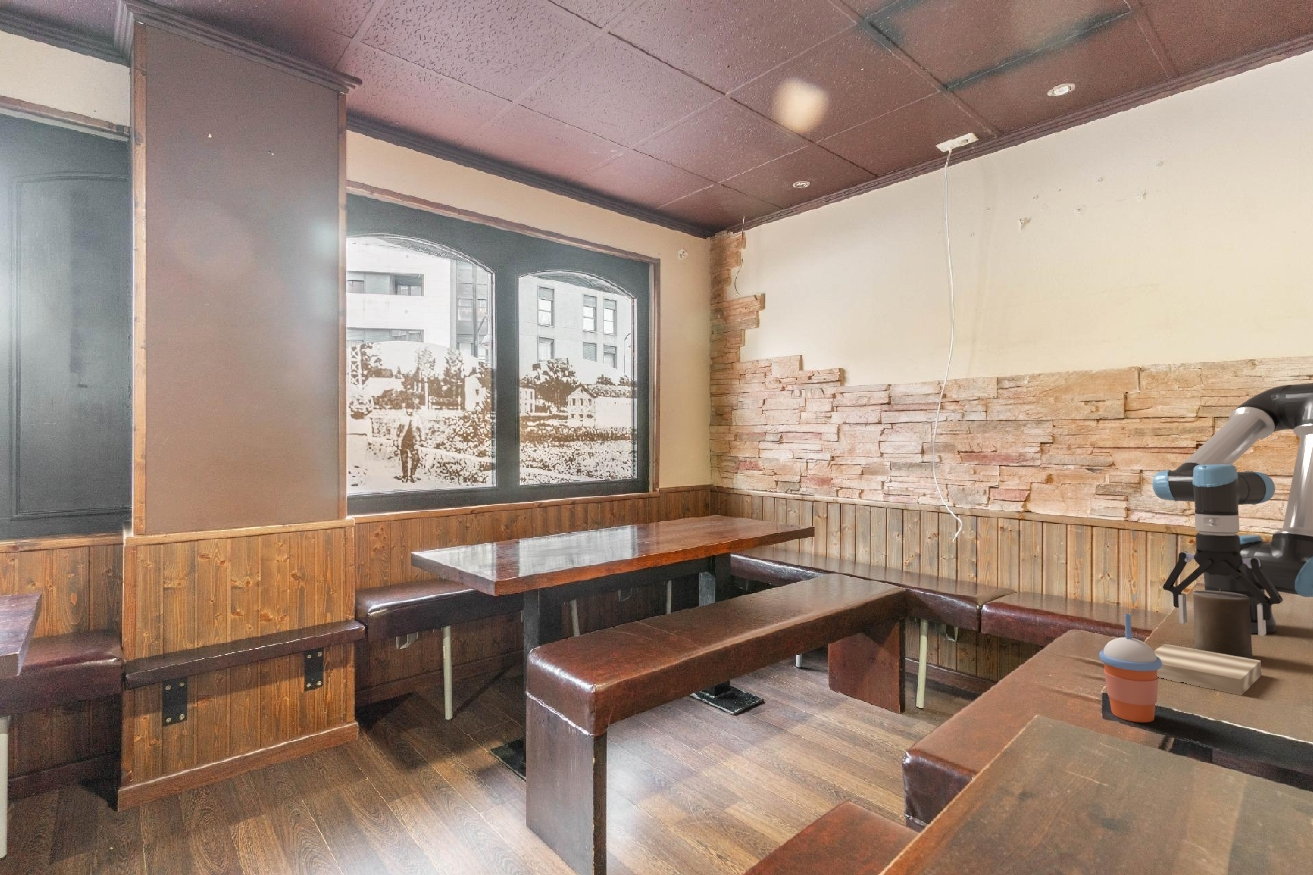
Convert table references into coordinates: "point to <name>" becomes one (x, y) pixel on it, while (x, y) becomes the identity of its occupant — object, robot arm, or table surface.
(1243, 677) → the wooden block
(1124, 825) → the table surface
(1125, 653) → the cup with straw
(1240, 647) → the pillar candle
